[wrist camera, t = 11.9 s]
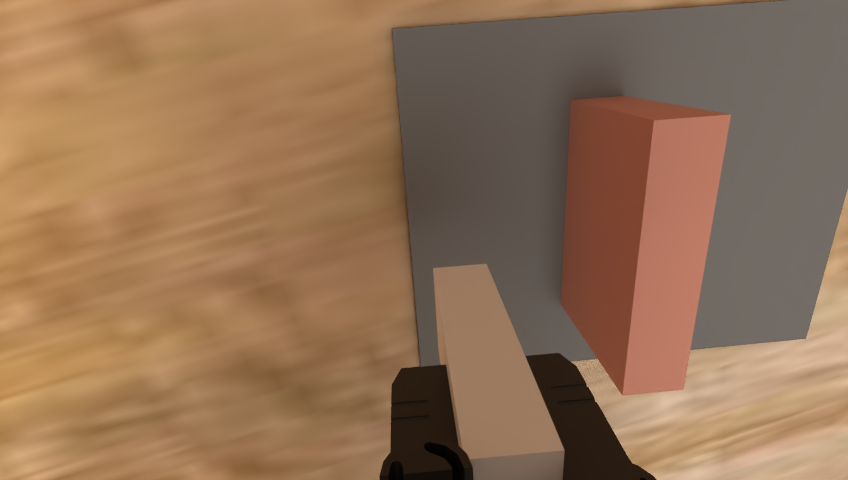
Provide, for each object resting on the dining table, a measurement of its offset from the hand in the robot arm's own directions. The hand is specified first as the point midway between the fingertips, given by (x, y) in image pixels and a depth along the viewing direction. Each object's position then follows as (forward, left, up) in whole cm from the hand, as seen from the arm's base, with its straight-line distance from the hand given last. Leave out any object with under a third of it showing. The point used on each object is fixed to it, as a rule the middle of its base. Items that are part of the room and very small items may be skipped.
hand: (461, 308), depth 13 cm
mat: (+9, 0, -8) cm, 12 cm away
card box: (+7, 0, -8) cm, 10 cm away
